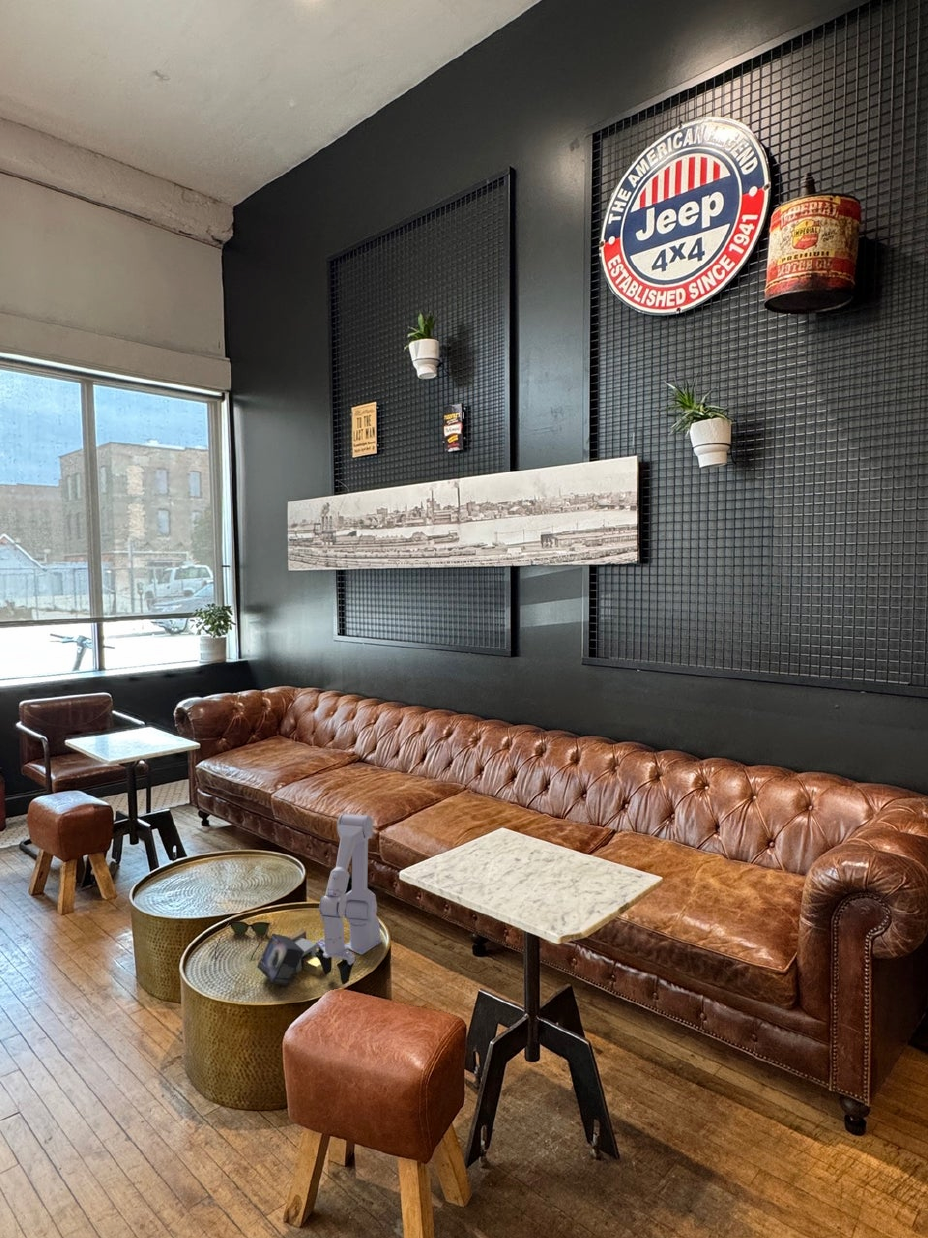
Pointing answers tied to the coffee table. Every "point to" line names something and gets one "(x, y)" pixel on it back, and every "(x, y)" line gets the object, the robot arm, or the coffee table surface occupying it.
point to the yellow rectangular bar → (311, 964)
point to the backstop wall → (298, 935)
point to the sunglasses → (243, 927)
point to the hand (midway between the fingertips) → (336, 977)
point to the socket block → (305, 950)
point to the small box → (280, 959)
